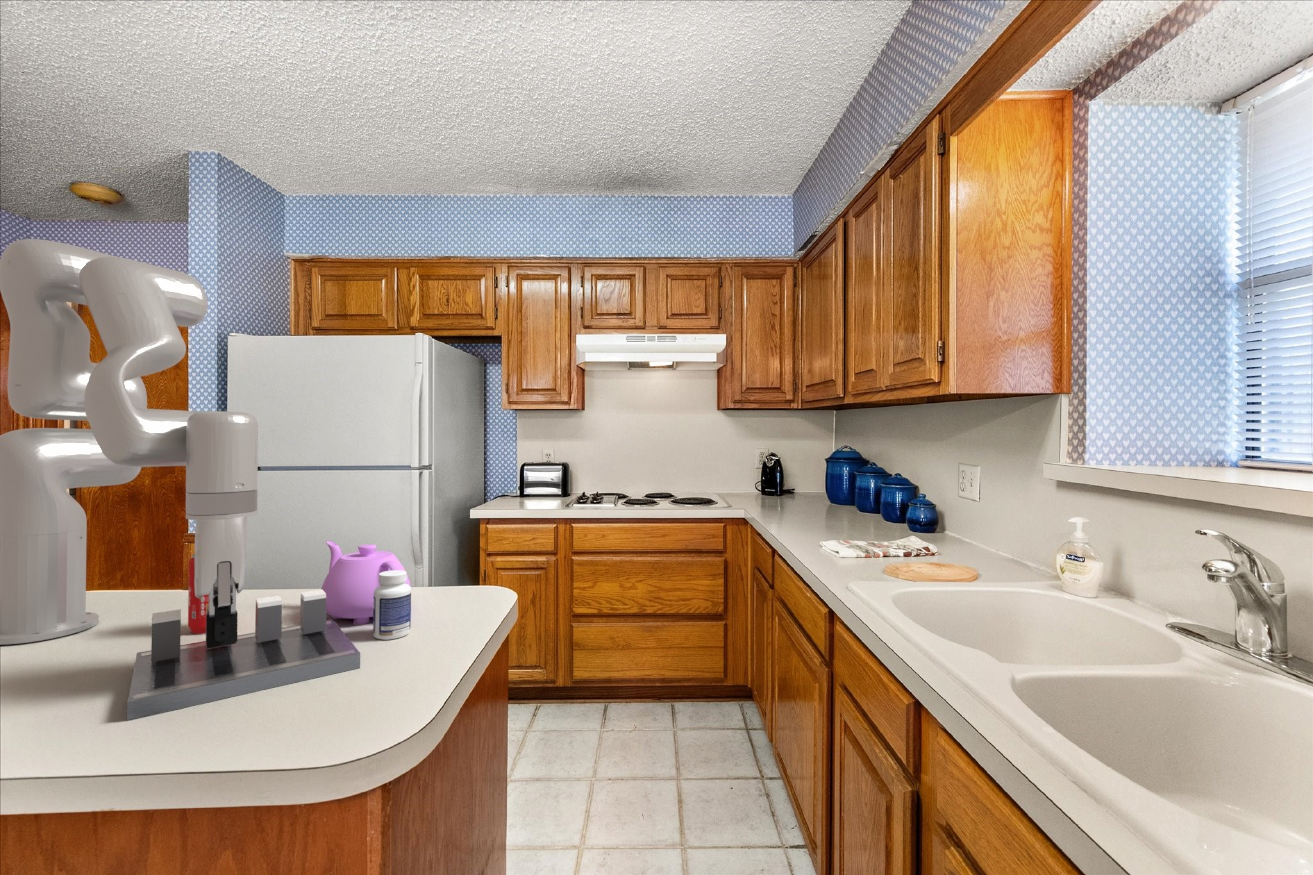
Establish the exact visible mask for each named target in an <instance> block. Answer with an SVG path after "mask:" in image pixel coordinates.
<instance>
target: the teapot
mask: <svg viewBox="0 0 1313 875" xmlns="http://www.w3.org/2000/svg"><path fill="white" fill-rule="evenodd" d="M326 545H327V546H328V548H329V550H330V560H329V561H330V563H329V567H328V573H327V575H326V577H325V579H324V581H323V583H322V584H321V589H320V590H323V591H324V592H325V593H326V614H328V615H329V616H331V619H333V620H340V619H353V625H357V626H358V625H365V624H368V623H370V618H373V595H374V590H375V589H376V588H377V587H379V586H380V584H379V581H378V580H379V573H381V572H385V571H391V570H403V571H406V569H405V567H404V566H403V564H402V563H401V562H400V560H399V558H397V556H396V555H395V554H394V553H393V552H391V551H386V550H376V549H377V545H376V544H371V543H369V544H368V543H367V544H360V545H359V546H357V549H358V551H356V552H350V553H346V554H343V553H342V550H341V548H340V546H339V545H338V544H337V543H336V542H334V541H330V540H326ZM405 584H407V585H409V586H410V587H411V588H412V586H411V582H410V578H409V576H408V574H407V579H406V582H405Z"/></svg>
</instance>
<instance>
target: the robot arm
mask: <svg viewBox="0 0 1313 875" xmlns="http://www.w3.org/2000/svg"><path fill="white" fill-rule="evenodd" d="M0 294H1V298H2V301H3V304H4V306H5V309H6V312H7V315H8V319H9V324H10V325H9V326H10V327H9V328H10V334H9V335H10V336H9V351H8V368H7V398H8V399H7V400H8V403H9V406H10V407H11V409H12V410H13V411H14V413H16V414H18V415H20V416H23V417H26V418H31V419H40V420H55V421H58V420H59V421H86V422H87V421H88V424H89V427H90V428H74V427H73V428H69V427H68V428H66V427H65V428H64V427H63V428H62V427H61V428H60V427H34V428H33V427H32V428H31V427H30V428H28V427H27V428H21V429H20V428H19V429H15V430H11V431H8V432H5V433H3V434H1V435H0V646H4V645H18V644H27V643H34V642H40V641H46V640H50V639H51V640H52V639H57V638H62V637H66V636H69V635H73V634H76V633H80V632H83V631H86V630H88V629H90V628H93V627H94V626H96V625H97V624H98V623H99V622H100V617H99V616H100V615H99V614H98V613H96V612H91V611H86V605H87V601H86V598H87V597H86V594H87V592H86V591H87V538H88V537H87V535H88V534H87V532H88V530H87V529H88V527H87V526H88V525H87V515H86V512H85V510H84V508H83V507H82V506H81V504H80V503H79V502H78V501H77V500H76V499H75V498H74V497H72V496H71V495H70V493H69V492H68V491H67V490H68V489H76V488H77V489H78V488H90V487H91V488H92V487H107V486H108V487H109V486H118V485H124V484H127V483H129V482H131V481H133V480H134V479H136V478H137V477H138V475H139V474H140V472H141V470H142V468H149V467H150V468H151V467H176V466H177V467H178V466H179V467H185V519H186V520H194V521H195V529H194V530H195V531H194V554H195V596H196V597H197V598H199V599H202V595H208V594H209V615H206V634H205V641H206V645H207V648H214V647H220V646H225V645H231V644H235V643H236V642H237V635H238V611H237V594H240V593H242V592H243V591H244V587H245V586H244V585H245V577H246V576H245V574H246V563H247V562H246V560H247V533H248V532H247V531H248V530H247V528H248V525H247V522H248V520H247V519H248V518H247V517H251V516H256V515H258V469H259V468H258V467H259V466H258V465H259V464H258V461H259V460H258V459H259V458H258V457H259V456H258V455H259V454H258V450H259V448H258V446H259V445H258V444H259V442H258V441H259V440H258V436H259V435H258V434H259V431H258V429H259V428H258V427H259V426H258V422H257V419H256V417H255V416H254V415H252V414H251V413H247V412H243V411H226V410H223V411H222V410H221V411H219V410H213V411H212V410H209V411H208V410H206V411H205V410H202V411H198V410H197V411H196V410H195V411H193V410H183V409H182V410H180V409H159V408H156V409H155V408H148V395H147V390H146V386H145V384H144V381H143V379H142V377H145V376H148V375H152V374H156V373H159V372H163V371H164V370H167V369H170V368H172V367H174V366H175V365H177V364H178V363H180V362H181V361H182V360H183V359H184V357H185V355H186V352H187V346H186V343H185V341H184V338H183V336H182V333H181V332H180V329H179V328H178V327H181V328H182V327H183V328H190V327H194V326H196V325H198V324H200V323H201V322H202V321H203V320H204V319H205V317H206V315H207V312H208V306H209V305H208V297H207V294H206V292H205V289H204V288H203V286H202V285H201V283H200V282H199V281H198V280H197V279H196V278H195V277H194V276H192V275H190V274H188V273H186V272H182V271H178V270H175V269H172V268H171V269H170V268H167V267H163V266H159V265H155V264H150V263H147V262H142V261H139V260H134V259H130V258H126V257H120V256H116V255H112V254H108V253H104V252H101V251H98V250H97V251H96V250H94V249H89V248H85V247H81V246H77V245H73V244H68V243H64V242H59V241H53V240H49V239H48V240H46V239H39V238H25V239H24V238H23V239H19V240H15V241H13V242H11V243H10V244H9V245H8V246H6V248H5V249H4V251H3V252H2V254H1V257H0ZM68 303H72V304H73V303H74V304H79V305H83V306H87V307H88V309H89V312H90V314H91V317H92V319H93V322H94V324H95V327H96V329H97V332H98V334H99V336H100V340H101V342H102V344H103V347H104V348H105V350H106V353H107V355H106V356H105V357H103V359H102V360H101V361H99V362H92V361H91V359H90V358H91V357H90V349H91V332H90V330H89V328H88V327H87V325H86V323H85V321H84V320H83V319H82V318H81V316H80V315H79V314H78V312H76V310H74V309H73V307H72V306H71V305H70V304H68Z"/></svg>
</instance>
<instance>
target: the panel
mask: <svg viewBox="0 0 1313 875" xmlns="http://www.w3.org/2000/svg"><path fill="white" fill-rule="evenodd" d="M135 656H136V657H135V661H134V666H133V672H132V676H131V683H130V687H129V688H130V689H129V693H128V698H127V711H126V712H127V715H126V717H127V718H126V719H127V721H131V720H136V719H139V718H144V717H145V718H146V717H149V716H153V715H158V714H163V713H166V712H167V713H168V712H171V711H176V710H180V709H184V708H185V709H186V708H189V707H193V706H197V705H202V704H207V703H210V702H215V701H220V700H224V699H228V698H233V697H236V696H237V697H238V696H242V695H247V694H250V693H255V692H260V691H263V690H269V689H272V688H277V687H283V686H287V685H290V684H294V683H299V682H303V681H309V680H313V679H317V678H321V677H326V676H329V675H331V676H332V675H335V674H339V673H342V672H348V671H351V670H352V671H353V670H356V669H361V652H360V651H359V649H358V648H357V647H356V646H355V644H353V642H352V641H351V640H350V638H349V637H348V636H347V635H346V633H345V632H344V631H343V630H342V629H341V628H340V626H339V625H338V624H337V623H336V621H335V619H333V618H331V619H326V630H325V631H319V632H314V633H308V634H303V632H302V631H301V629H300V624H296V625H291V626H290V625H289V626H284V627H282V637H281V639H275V640H270V641H264V642H259V643H257V640H256V638H255V632H251V633H249V632H248V633H245V634H244V633H243V634H237V642H236V643H235V644H233V645H228V646H222V647H216V648H211V649H206V640H204V641H197V642H191V643H186V644H180V657H176V658H171V659H165V660H160V661H154V662H151V649H150V650H144V651H139V652H136V655H135ZM308 679H309V680H308Z"/></svg>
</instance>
